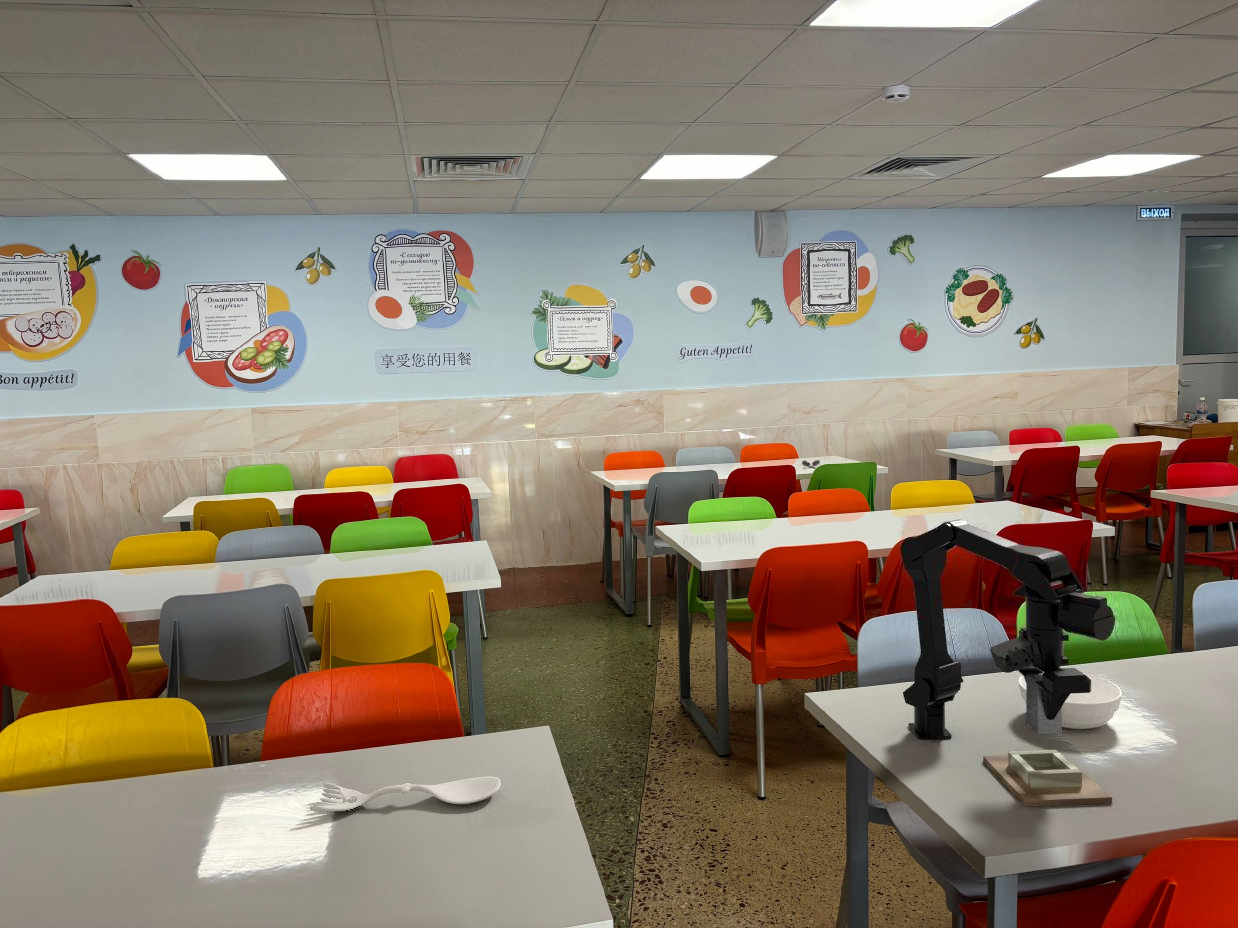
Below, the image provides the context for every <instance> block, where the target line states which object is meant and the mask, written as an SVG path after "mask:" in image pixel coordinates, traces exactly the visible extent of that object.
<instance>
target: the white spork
mask: <svg viewBox="0 0 1238 928" xmlns="http://www.w3.org/2000/svg"><path fill="white" fill-rule="evenodd" d="M501 783H502V782H501V779H500V778H498V777H497V776H490V775H489V776H488V775H487V776H477V777H471V778H469V777H468V778H465V779H457V780H453V781H448V782H442V783H438V784H412V783H410V782H405V783H403V784H399V785H390V786H389V785H388V786H385V787H382V788H380V789H377V790H375V791H372V792H371V793H367V794H365V793H362V792H360V791H358V790H354V789H351V788H345V787H344V786H343V787H342V786H340V785H337V784H335V783H330V782H324V783H323V784H322V785H323V789H322V791H323V792H322V793H321V795H322V796H323V797H321V798H320V799H319V800H320V801H317V802H316V804H314V805H311V806H310V807H309V809H310V811H312V812H317V813H326V812H327V813H328V812H345V811H346V810H348V811H351V810H350V809H353V808H355V807H358V806H361V805H363V804H364V805H366V804H368V803H369V802H371V801H372V800H374V799H376V798H378V797H380V796H383V795H386V794H392V793H402V794H408V793H409V792H415V791H417V792H424V793H426V794H429V795H431V796H433V797H434V798H436V799H438V800H440V801H442V802H445V803H449V804H451V805H452V804H454V805H470V804H475V803H477V802H480V801H483V800H486V799H488V798H490V797H492V796H493V795H495V794H496V793H497V792H499V791H500V789H501ZM353 796H355V797H356V796H357V797H356V798H358V799H357V801H356V802H353V803H349V802H345V801H347V800H348V799H350V798H351V797H353ZM355 797H354V798H355ZM331 798H334V799H331ZM335 798H336V799H335ZM354 798H353V799H354ZM351 799H352V798H351ZM351 799H350V800H351ZM364 805H363V806H364ZM361 807H362V806H361ZM358 808H359V807H358ZM353 810H354V809H353ZM346 812H347V811H346Z"/></svg>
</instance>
